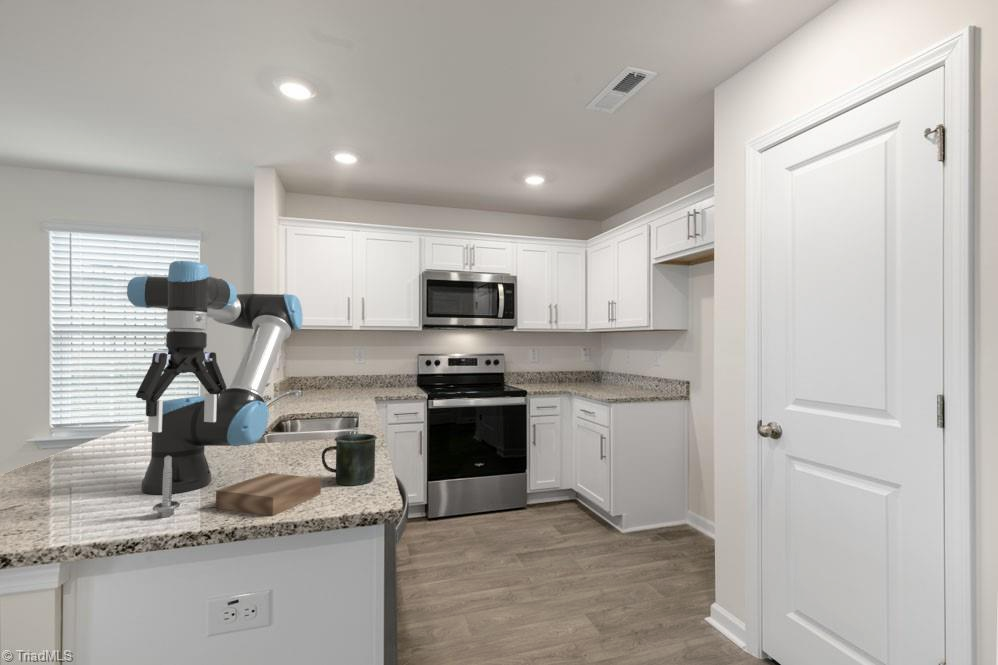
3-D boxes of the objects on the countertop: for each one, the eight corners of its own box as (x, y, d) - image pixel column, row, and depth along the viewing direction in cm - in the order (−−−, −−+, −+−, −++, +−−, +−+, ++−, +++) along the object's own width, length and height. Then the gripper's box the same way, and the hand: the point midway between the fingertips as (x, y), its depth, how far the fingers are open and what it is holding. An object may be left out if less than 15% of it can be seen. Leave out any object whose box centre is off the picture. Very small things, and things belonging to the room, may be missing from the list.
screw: (153, 514, 102) (179, 510, 105) (151, 521, 98) (179, 516, 101) (155, 454, 103) (181, 452, 105) (153, 458, 99) (181, 456, 101)
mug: (379, 483, 127) (380, 439, 127) (322, 490, 121) (323, 443, 121) (372, 473, 137) (373, 432, 137) (319, 479, 130) (320, 436, 131)
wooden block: (215, 508, 107) (216, 490, 107) (268, 488, 122) (269, 472, 122) (272, 515, 102) (273, 497, 102) (320, 494, 117) (320, 478, 117)
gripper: (145, 328, 91) (142, 437, 91) (244, 332, 115) (241, 418, 115) (116, 328, 93) (112, 435, 92) (219, 332, 117) (216, 417, 117)
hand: (184, 426), depth 104 cm, fingers open, 13 cm apart
